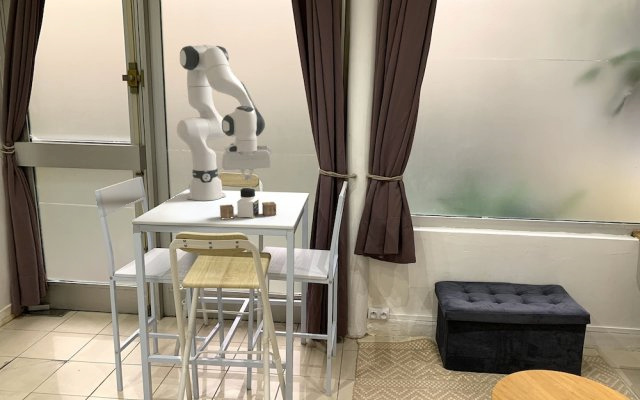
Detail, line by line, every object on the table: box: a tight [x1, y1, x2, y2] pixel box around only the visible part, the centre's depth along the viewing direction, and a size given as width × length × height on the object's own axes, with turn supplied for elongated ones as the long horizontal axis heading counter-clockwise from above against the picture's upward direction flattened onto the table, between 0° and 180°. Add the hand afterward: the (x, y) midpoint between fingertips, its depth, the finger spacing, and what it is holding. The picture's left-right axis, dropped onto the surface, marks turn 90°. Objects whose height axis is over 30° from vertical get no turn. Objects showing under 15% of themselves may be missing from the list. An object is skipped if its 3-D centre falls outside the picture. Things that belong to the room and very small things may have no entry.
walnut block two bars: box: [261, 201, 277, 217], centre depth 230 cm, size 5×5×5 cm
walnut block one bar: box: [219, 204, 235, 219], centre depth 225 cm, size 5×5×5 cm
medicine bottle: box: [236, 187, 260, 219], centre depth 227 cm, size 7×7×12 cm
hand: (247, 179), depth 225 cm, fingers closed
